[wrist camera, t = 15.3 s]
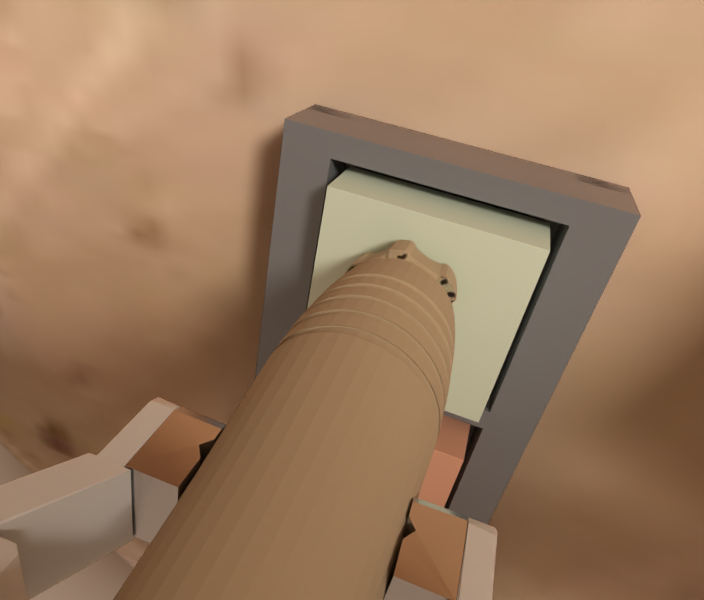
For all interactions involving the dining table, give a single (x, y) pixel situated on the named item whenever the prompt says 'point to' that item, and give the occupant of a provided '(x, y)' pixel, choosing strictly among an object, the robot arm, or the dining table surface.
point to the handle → (319, 448)
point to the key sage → (443, 247)
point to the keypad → (480, 186)
